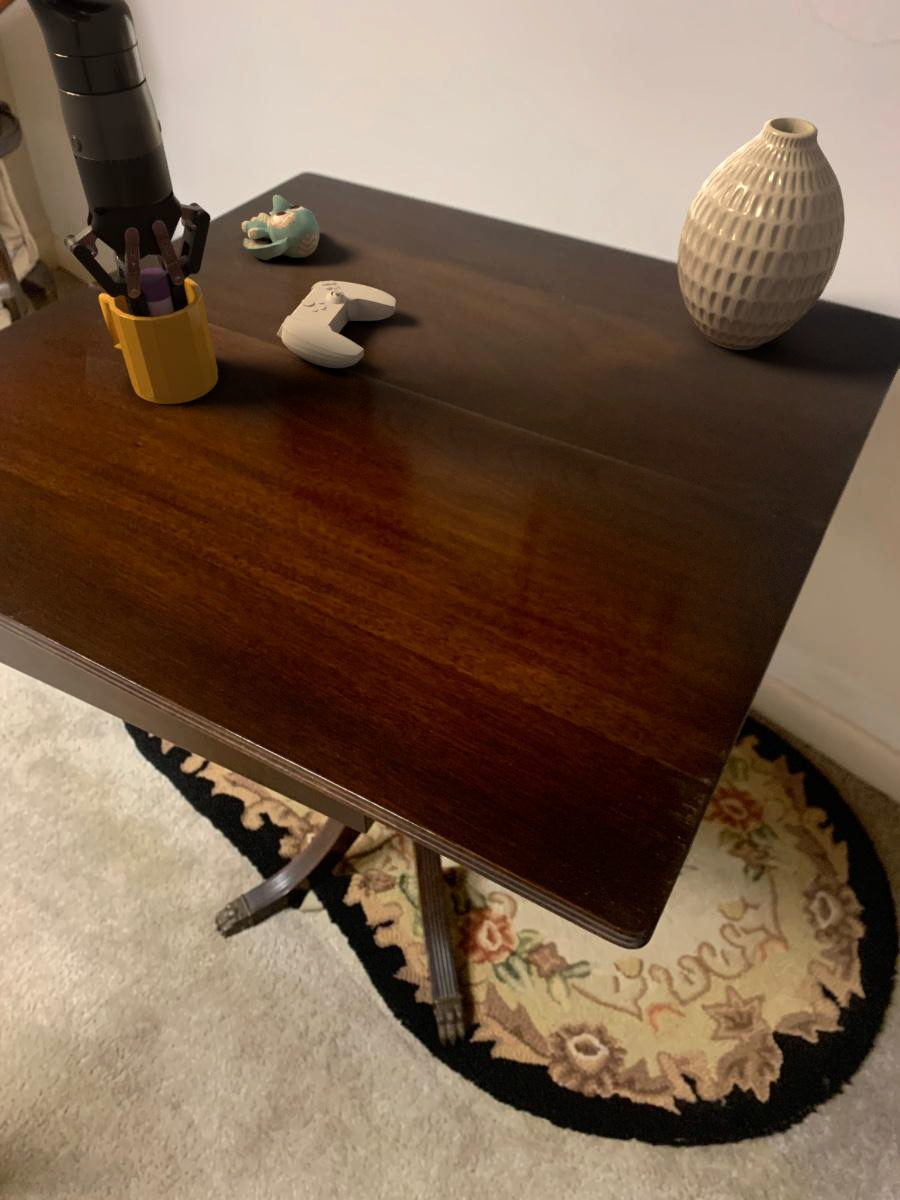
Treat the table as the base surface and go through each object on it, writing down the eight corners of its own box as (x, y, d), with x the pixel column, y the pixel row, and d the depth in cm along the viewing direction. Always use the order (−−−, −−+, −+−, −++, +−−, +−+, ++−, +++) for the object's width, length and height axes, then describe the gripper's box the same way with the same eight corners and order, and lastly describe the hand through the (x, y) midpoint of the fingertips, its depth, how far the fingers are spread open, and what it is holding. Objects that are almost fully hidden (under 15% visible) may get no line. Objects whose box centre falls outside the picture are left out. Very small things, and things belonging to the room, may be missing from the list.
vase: (637, 309, 104) (676, 104, 88) (758, 290, 108) (816, 89, 92) (704, 384, 94) (762, 168, 78) (835, 360, 98) (917, 148, 81)
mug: (234, 369, 95) (219, 286, 88) (185, 413, 89) (164, 328, 82) (145, 342, 98) (123, 260, 91) (92, 383, 92) (64, 299, 85)
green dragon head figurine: (270, 177, 115) (335, 184, 108) (284, 233, 120) (347, 243, 113) (206, 204, 109) (270, 213, 103) (224, 262, 114) (286, 274, 107)
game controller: (357, 355, 91) (267, 320, 91) (351, 389, 94) (265, 355, 95) (404, 289, 100) (322, 257, 101) (397, 322, 104) (318, 291, 104)
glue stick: (156, 374, 91) (132, 283, 83) (160, 358, 93) (137, 267, 85) (186, 373, 91) (164, 282, 84) (189, 357, 93) (168, 267, 86)
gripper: (175, 109, 80) (211, 287, 93) (19, 141, 75) (80, 326, 88) (211, 135, 76) (242, 318, 89) (48, 172, 71) (107, 361, 83)
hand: (161, 321), depth 88 cm, fingers closed on glue stick, 3 cm apart
